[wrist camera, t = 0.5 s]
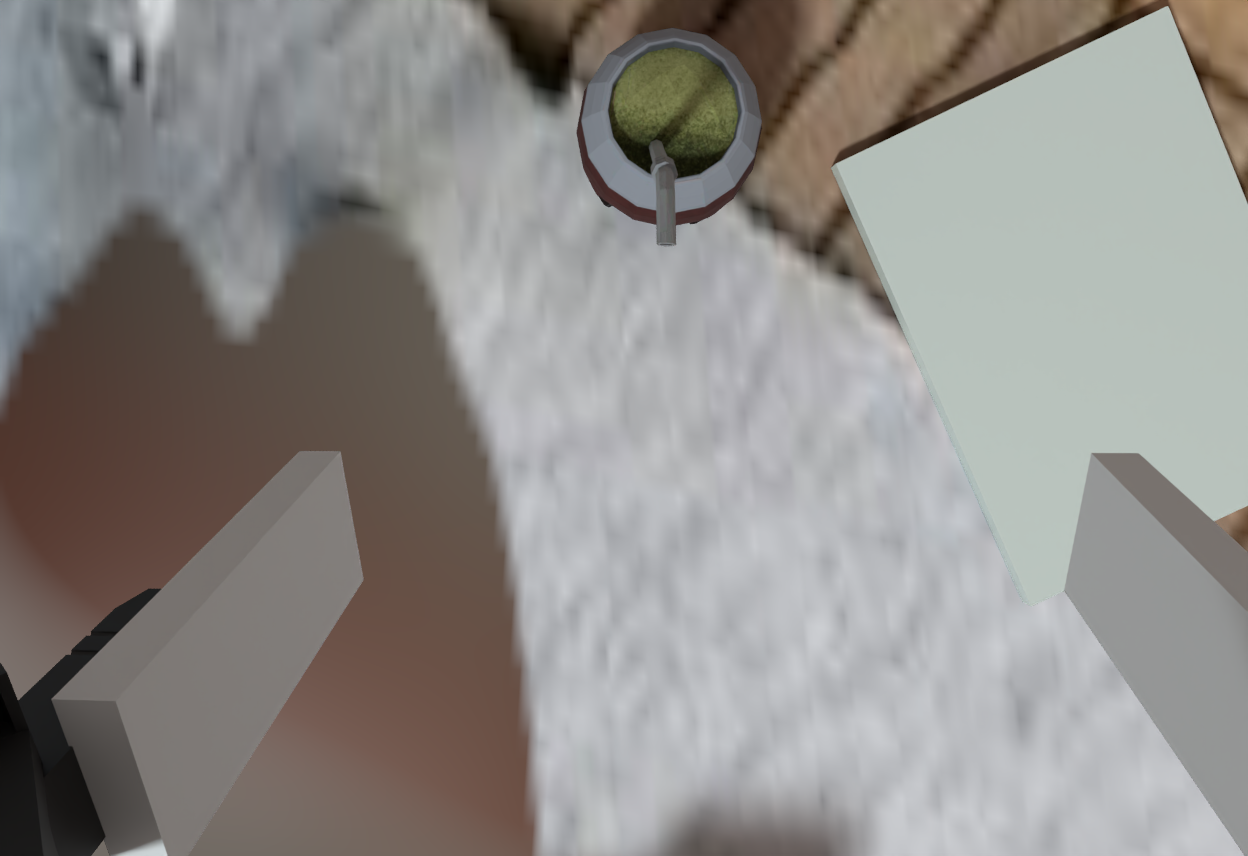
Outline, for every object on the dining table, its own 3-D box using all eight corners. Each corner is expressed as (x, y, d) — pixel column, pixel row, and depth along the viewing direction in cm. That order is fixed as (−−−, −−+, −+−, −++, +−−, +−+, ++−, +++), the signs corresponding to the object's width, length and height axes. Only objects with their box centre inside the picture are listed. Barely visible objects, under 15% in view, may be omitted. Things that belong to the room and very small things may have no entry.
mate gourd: (682, 50, 38) (732, -149, 23) (779, 201, 39) (887, 101, 24) (542, 145, 38) (502, 7, 23) (640, 294, 39) (663, 252, 24)
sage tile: (830, 167, 39) (835, 163, 38) (1156, 12, 39) (1168, 5, 38) (1022, 601, 40) (1030, 606, 40) (1334, 456, 40) (1349, 457, 39)
